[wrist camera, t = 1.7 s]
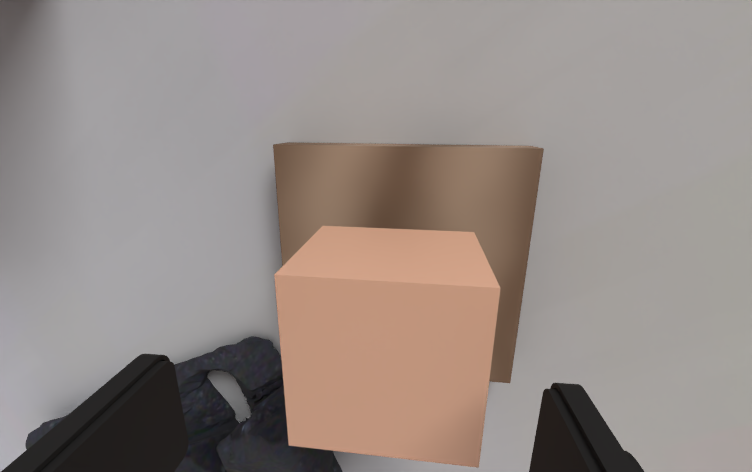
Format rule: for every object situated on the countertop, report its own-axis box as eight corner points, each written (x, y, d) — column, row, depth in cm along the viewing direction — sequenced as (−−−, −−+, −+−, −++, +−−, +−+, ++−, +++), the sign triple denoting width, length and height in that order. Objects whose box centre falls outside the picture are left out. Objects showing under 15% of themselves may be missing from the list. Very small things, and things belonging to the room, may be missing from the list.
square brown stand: (530, 145, 17) (635, 167, 9) (502, 359, 21) (557, 523, 12) (288, 142, 19) (174, 158, 10) (301, 343, 22) (225, 480, 14)
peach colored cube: (474, 232, 14) (500, 288, 9) (461, 363, 16) (478, 467, 11) (322, 225, 15) (274, 274, 10) (327, 352, 16) (288, 445, 12)
